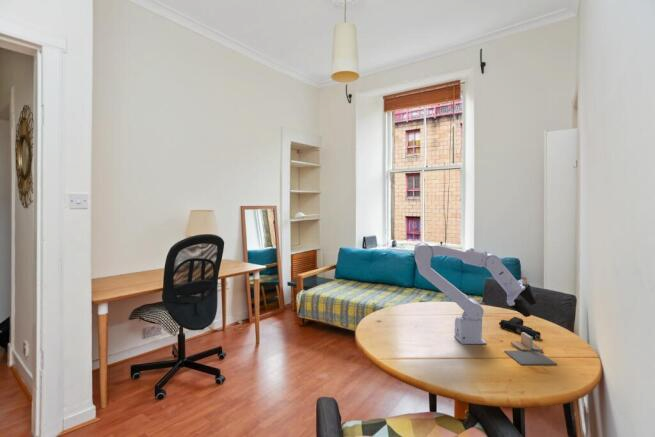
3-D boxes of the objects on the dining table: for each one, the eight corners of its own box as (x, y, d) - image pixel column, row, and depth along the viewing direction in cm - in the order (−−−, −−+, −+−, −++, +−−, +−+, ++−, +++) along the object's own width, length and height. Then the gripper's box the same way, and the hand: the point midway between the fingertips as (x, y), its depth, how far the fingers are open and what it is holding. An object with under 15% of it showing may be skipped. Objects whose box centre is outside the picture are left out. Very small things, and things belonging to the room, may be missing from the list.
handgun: (552, 336, 136) (534, 341, 130) (512, 322, 151) (494, 326, 146) (552, 328, 136) (534, 332, 130) (512, 315, 151) (495, 318, 146)
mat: (521, 365, 110) (521, 363, 110) (504, 351, 120) (504, 350, 120) (556, 364, 110) (556, 363, 110) (537, 351, 120) (537, 350, 120)
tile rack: (521, 352, 119) (522, 349, 119) (510, 344, 126) (510, 341, 126) (543, 352, 120) (543, 349, 120) (530, 343, 127) (530, 341, 127)
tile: (529, 351, 121) (529, 337, 120) (520, 345, 126) (521, 332, 125) (532, 351, 121) (532, 337, 120) (523, 345, 126) (524, 332, 125)
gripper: (510, 288, 119) (535, 319, 117) (521, 267, 128) (545, 295, 127) (493, 293, 124) (518, 323, 123) (505, 273, 133) (528, 300, 132)
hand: (530, 309), depth 125 cm, fingers open, 7 cm apart
